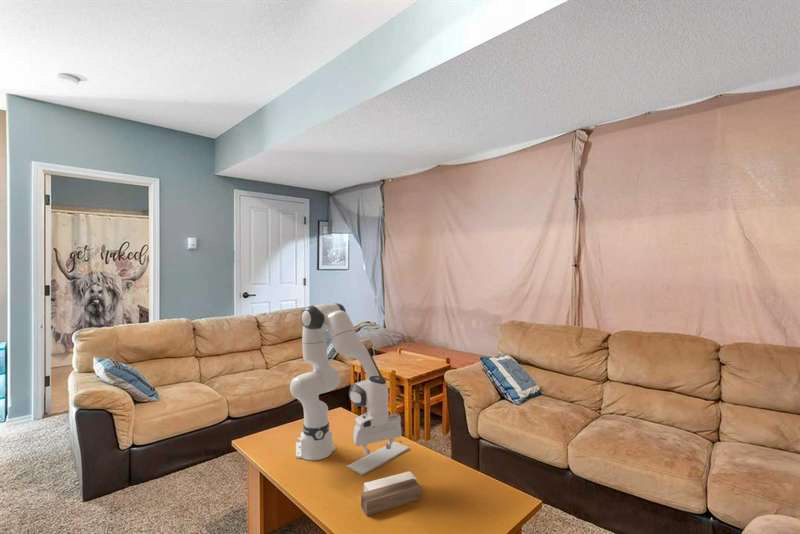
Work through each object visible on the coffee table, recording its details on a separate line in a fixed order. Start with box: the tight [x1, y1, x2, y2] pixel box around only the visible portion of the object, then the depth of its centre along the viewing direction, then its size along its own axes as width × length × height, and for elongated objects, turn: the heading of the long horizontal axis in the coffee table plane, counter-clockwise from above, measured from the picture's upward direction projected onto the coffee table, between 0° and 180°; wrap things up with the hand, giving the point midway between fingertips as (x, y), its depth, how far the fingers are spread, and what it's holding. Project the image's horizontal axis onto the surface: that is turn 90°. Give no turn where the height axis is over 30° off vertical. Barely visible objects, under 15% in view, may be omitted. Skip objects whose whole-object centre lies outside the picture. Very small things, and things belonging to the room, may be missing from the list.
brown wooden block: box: [360, 479, 422, 517], centre depth 146 cm, size 6×22×5 cm, turn 116°
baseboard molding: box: [345, 440, 410, 476], centre depth 180 cm, size 31×3×12 cm
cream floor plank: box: [363, 470, 417, 492], centre depth 152 cm, size 6×20×5 cm, turn 116°
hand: (378, 451), depth 158 cm, fingers open, 8 cm apart
